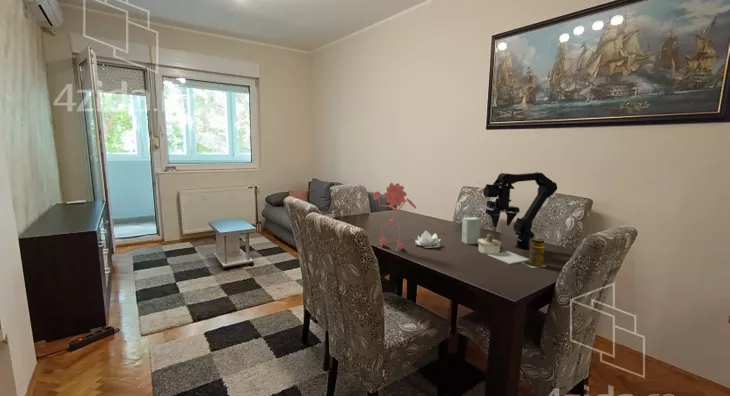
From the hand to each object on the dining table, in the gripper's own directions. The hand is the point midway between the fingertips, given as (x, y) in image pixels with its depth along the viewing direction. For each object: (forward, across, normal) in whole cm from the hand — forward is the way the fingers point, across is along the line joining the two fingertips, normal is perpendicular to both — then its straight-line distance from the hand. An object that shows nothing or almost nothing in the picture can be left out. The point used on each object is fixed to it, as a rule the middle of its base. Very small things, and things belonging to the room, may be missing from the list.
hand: (501, 226), depth 177 cm
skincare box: (+13, +8, -14) cm, 21 cm away
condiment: (+13, +5, +25) cm, 28 cm away
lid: (+8, +10, +2) cm, 13 cm away
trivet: (+12, +8, +13) cm, 20 cm away
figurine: (+13, +52, -22) cm, 58 cm away
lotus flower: (+13, +34, -18) cm, 41 cm away
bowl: (+12, +10, +2) cm, 16 cm away
